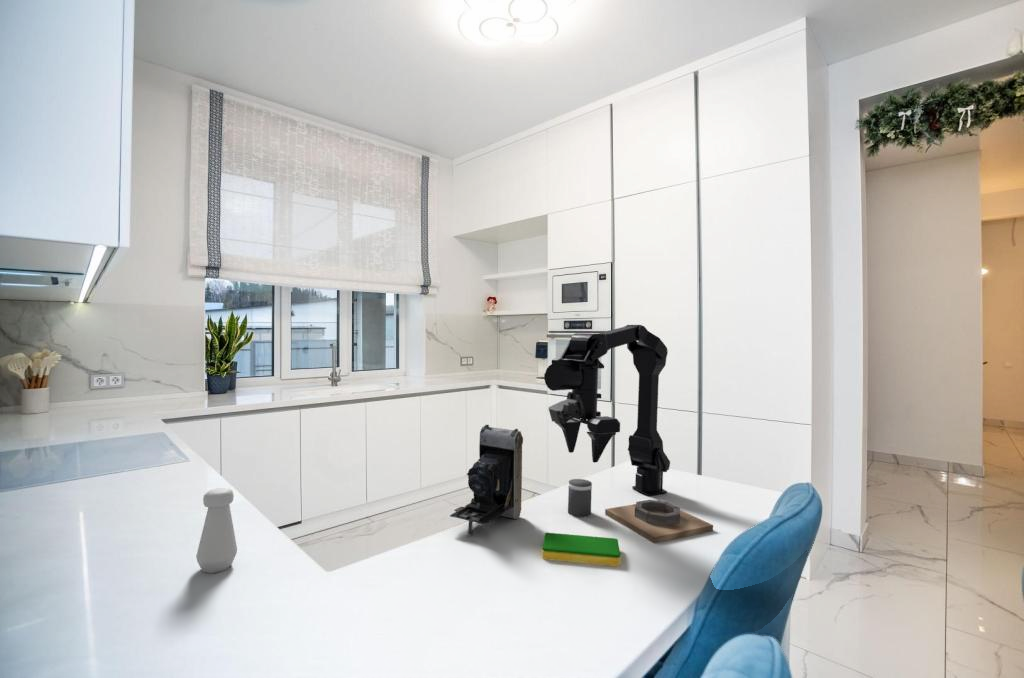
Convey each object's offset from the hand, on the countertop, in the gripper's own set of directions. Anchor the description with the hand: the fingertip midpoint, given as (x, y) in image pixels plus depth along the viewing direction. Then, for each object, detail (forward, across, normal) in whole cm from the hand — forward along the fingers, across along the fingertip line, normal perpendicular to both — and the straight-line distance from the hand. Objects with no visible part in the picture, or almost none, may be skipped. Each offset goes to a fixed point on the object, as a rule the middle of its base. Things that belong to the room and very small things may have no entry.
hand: (582, 457), depth 106 cm
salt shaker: (+14, -5, -71) cm, 72 cm away
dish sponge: (+14, +16, -11) cm, 24 cm away
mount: (+13, +11, +13) cm, 21 cm away
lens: (+13, -1, 0) cm, 13 cm away
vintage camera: (+13, -4, -22) cm, 26 cm away
